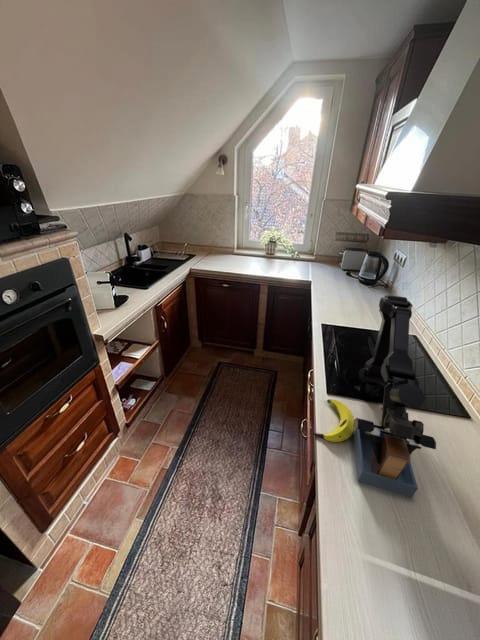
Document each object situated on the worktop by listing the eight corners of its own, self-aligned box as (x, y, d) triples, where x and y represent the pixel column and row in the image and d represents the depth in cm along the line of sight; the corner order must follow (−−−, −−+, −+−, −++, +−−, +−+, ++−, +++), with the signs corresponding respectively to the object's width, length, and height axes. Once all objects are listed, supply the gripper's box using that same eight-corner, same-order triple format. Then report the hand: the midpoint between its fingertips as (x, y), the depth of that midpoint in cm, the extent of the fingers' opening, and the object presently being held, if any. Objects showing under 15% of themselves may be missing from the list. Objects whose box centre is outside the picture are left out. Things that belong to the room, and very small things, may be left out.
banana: (344, 393, 92) (302, 397, 93) (365, 433, 77) (316, 438, 78) (343, 402, 94) (303, 407, 95) (364, 443, 79) (316, 448, 80)
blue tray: (352, 435, 82) (356, 425, 80) (397, 447, 79) (403, 437, 77) (357, 482, 70) (362, 471, 67) (410, 498, 66) (418, 488, 64)
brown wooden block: (370, 462, 74) (384, 434, 67) (389, 468, 73) (405, 440, 66) (372, 480, 70) (388, 452, 63) (392, 486, 68) (411, 459, 62)
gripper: (366, 398, 65) (359, 463, 62) (450, 417, 61) (447, 489, 57) (356, 397, 76) (349, 453, 72) (426, 414, 71) (423, 474, 68)
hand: (389, 466), depth 67 cm, fingers closed on brown wooden block, 5 cm apart
